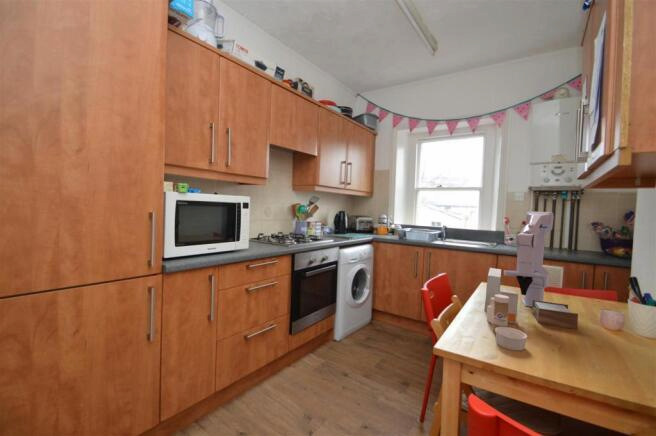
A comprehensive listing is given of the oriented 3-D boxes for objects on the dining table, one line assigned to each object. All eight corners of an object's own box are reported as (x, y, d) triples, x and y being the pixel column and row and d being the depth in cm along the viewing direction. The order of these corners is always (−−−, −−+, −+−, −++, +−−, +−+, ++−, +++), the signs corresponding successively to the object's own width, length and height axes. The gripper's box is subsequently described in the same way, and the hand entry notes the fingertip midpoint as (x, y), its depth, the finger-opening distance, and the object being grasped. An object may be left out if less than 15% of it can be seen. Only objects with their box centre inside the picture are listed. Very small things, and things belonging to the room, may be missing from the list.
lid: (534, 305, 124) (534, 301, 124) (563, 309, 120) (563, 305, 120) (540, 312, 115) (540, 308, 115) (571, 317, 111) (572, 313, 111)
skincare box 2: (498, 321, 115) (500, 291, 115) (498, 317, 119) (499, 288, 119) (516, 324, 113) (518, 293, 112) (515, 320, 116) (517, 291, 116)
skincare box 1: (498, 314, 124) (500, 276, 123) (484, 311, 126) (486, 275, 126) (499, 301, 142) (501, 268, 141) (487, 298, 144) (488, 267, 144)
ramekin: (532, 348, 93) (532, 335, 93) (517, 354, 89) (517, 340, 89) (504, 337, 101) (504, 324, 101) (488, 342, 97) (489, 329, 96)
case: (532, 313, 125) (532, 300, 125) (566, 318, 120) (567, 304, 120) (538, 323, 114) (539, 308, 114) (577, 329, 109) (578, 314, 109)
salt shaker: (493, 320, 116) (494, 296, 116) (502, 324, 112) (503, 300, 112) (485, 321, 115) (487, 297, 114) (494, 325, 111) (495, 300, 111)
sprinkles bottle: (493, 334, 103) (495, 296, 102) (492, 329, 107) (493, 293, 106) (508, 336, 101) (510, 298, 100) (506, 331, 105) (508, 295, 105)
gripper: (506, 261, 120) (504, 294, 121) (549, 265, 114) (547, 299, 115) (503, 259, 127) (502, 290, 127) (544, 262, 121) (542, 295, 121)
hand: (523, 294), depth 121 cm, fingers closed
